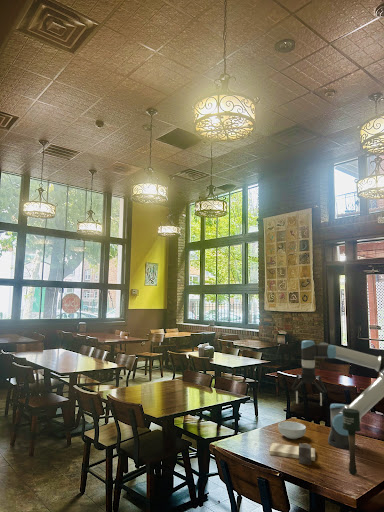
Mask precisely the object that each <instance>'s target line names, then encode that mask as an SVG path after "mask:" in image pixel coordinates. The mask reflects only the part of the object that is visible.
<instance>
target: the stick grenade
mask: <svg viewBox="0 0 384 512" xmlns="http://www.w3.org/2000/svg"><path fill="white" fill-rule="evenodd" d="M360 423H361V422H360V414H359V411H358V410H355V409H343V427H342V428H343V429H344V430H347V431H348V438H349V449H348V451H349V463H348V472H349V474H351V475H357V473H358V469H357V462H356V433H357V432H361V430H362V428H361V424H360Z"/></svg>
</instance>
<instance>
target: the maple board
mask: <svg viewBox="0 0 384 512" xmlns="http://www.w3.org/2000/svg"><path fill="white" fill-rule="evenodd" d="M269 455H270V456H277V457H286V458H291V459H298V460H299V445H291V444H284V443H283V444H282V443H279V442H278V443H276V442H272V443H271V444H270V447H269ZM312 461H313V462H315V461H316V448H315V447H314V448H313V447H311V462H312Z"/></svg>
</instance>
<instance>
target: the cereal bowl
mask: <svg viewBox="0 0 384 512" xmlns="http://www.w3.org/2000/svg"><path fill="white" fill-rule="evenodd" d="M277 429H278V431H279V433H280V434H281V435H282V436H284V437H285V438H287V439H290V440H297V439H299V438H302V437H304V436H305V434H306V429H307V427H306V425H305V424H302V423H301V422H296V421H287V420H286V421H280V422H279V423H278V424H277Z"/></svg>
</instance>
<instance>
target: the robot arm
mask: <svg viewBox="0 0 384 512" xmlns="http://www.w3.org/2000/svg"><path fill="white" fill-rule="evenodd" d="M300 351H301V374H298V373H297V374H296V377H295V380H294V382H293V384H292V386H291V389H290V390H291V391H293V393H294V394H293V395H294V396H293V397H294V398H295V400H296V401H295V404H298V403H299V402H298V401H299V400H298V399H299V396H298V395H299V392H298V390H299V389H300V388H301V386H303V384H313V385H314V387H316V389H317V390H318V391H319V392H320V393H319V397H320V402H319V405H320V406H323V401H324V400H325V396H324V395H325V394H327V393H328V391H327V388H326V387H325V385H324V383H323V381H322V378H321V375H317V376H316V369H315V367H316V360H315V359H316V358H323V359H337V360H340V361H344V362H347V363H352V364H355V365H358V366H361V367H366V368H368V369H374V370H375V371H376V372H377V373H378V374H379V376H378V377H377V378H376V379H375V380H374V381H373V382H372V383H371V384H369V386H368V387H367V388H366V389H364V390H363V391H362V392H361V393H360V394H359V395H358V396H357V397H356V398H355V399H354V400H353V401H352V402H351V403H350V404H344V403H330V406H329V409H330V431H329V434H328V438H327V443H328V444H329V445H330V446H332V447H335V448H339V449H345V450H346V449H347V450H349V438H348V431H347V430H344V429H343V428H342V427H343V409H355V410H358V411H359V414H360V423H362V417H363V416H365V415H366V414H367V413H368V412H369V411H370V410H371V409H373V407H374V406H375V405H377V404H378V403H379V401H381V400H382V399H383V398H384V356H383V355H379V356H376V355H373V354H369V353H365V352H360V351H357V350H355V349H354V350H353V349H349V348H346V347H342V346H338V345H333V344H331V343H328V342H325V341H324V342H320V343H318V344H316V343H315V341H314V340H309V339H307V340H306V339H305V340H302V341H301V350H300ZM300 378H301V381H300V382H299V384H298V385H297V383H298V380H299V379H300ZM315 380H317V381H318V382H319V384H320V385H321V387H320V385H319V384H318V383H317V382H316V381H315ZM295 386H296V387H295Z"/></svg>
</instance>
